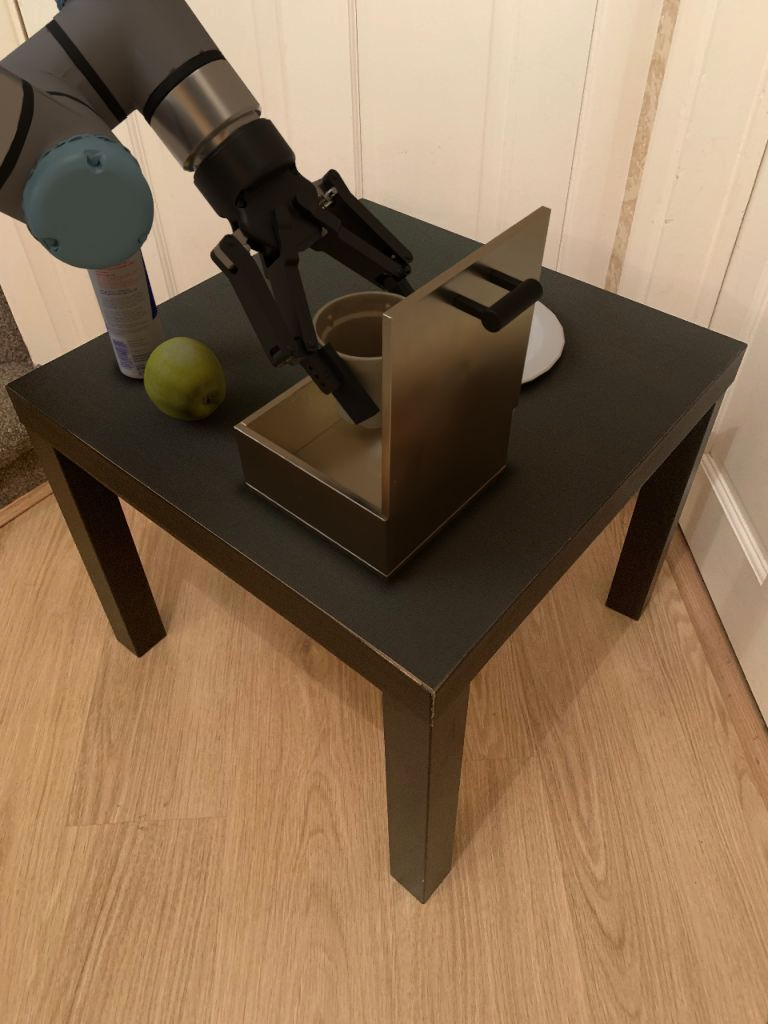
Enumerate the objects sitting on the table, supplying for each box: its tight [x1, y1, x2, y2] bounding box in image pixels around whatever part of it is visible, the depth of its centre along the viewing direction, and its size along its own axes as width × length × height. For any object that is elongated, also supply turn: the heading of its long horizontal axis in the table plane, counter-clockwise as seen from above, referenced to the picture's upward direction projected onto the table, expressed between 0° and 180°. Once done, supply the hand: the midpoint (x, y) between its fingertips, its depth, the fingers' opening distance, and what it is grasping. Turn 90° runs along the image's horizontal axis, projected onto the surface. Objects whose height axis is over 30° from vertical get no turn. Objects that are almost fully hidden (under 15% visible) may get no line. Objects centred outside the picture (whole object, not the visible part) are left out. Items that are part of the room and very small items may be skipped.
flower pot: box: [312, 290, 406, 429], centre depth 66 cm, size 9×9×9 cm
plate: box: [521, 300, 566, 386], centre depth 90 cm, size 21×21×2 cm
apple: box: [143, 336, 227, 421], centre depth 81 cm, size 8×9×8 cm
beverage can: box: [86, 247, 167, 380], centre depth 83 cm, size 6×6×15 cm
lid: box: [381, 205, 552, 519], centre depth 58 cm, size 18×18×5 cm
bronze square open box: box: [233, 375, 514, 582], centre depth 73 cm, size 18×18×8 cm
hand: (403, 383), depth 65 cm, fingers closed on flower pot, 9 cm apart
